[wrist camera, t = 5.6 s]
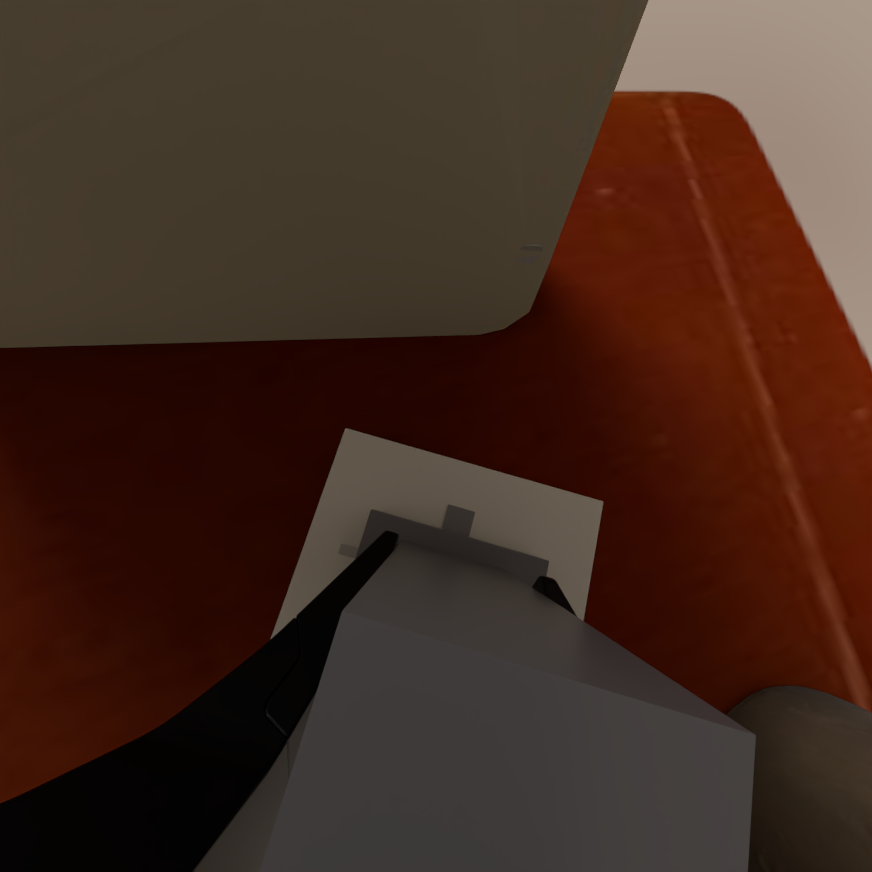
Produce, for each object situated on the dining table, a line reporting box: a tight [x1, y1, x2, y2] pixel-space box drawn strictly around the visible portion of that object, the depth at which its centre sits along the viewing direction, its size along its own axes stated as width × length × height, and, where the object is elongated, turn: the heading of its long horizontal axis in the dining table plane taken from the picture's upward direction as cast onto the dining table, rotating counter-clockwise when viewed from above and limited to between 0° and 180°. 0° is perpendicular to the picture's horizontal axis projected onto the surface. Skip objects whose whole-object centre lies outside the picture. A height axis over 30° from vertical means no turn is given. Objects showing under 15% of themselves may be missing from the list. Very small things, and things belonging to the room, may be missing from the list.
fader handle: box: [260, 509, 756, 872], centre depth 9 cm, size 4×7×12 cm, turn 74°
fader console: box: [271, 428, 603, 639], centre depth 14 cm, size 26×12×2 cm, turn 164°
